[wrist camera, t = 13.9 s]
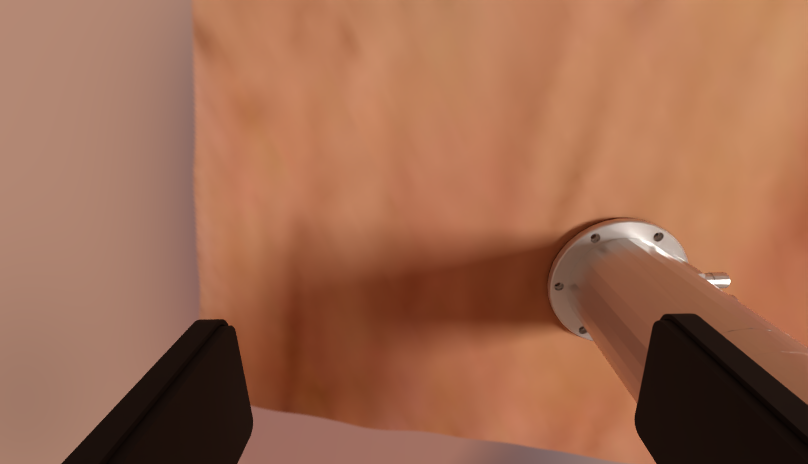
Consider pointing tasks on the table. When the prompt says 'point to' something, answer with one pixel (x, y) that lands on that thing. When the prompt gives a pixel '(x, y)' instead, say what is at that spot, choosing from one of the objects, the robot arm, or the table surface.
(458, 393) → the table surface
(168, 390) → the robot arm
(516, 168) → the table surface
